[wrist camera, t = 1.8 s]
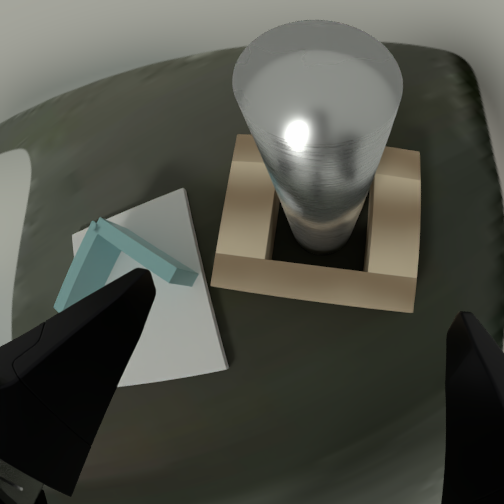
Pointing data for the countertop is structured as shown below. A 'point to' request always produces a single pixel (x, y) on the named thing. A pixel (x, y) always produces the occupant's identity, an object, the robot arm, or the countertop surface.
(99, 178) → the countertop surface
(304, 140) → the silver metal cylinder
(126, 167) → the countertop surface
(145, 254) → the plate with teal chevron
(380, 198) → the wooden frame
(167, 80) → the countertop surface
